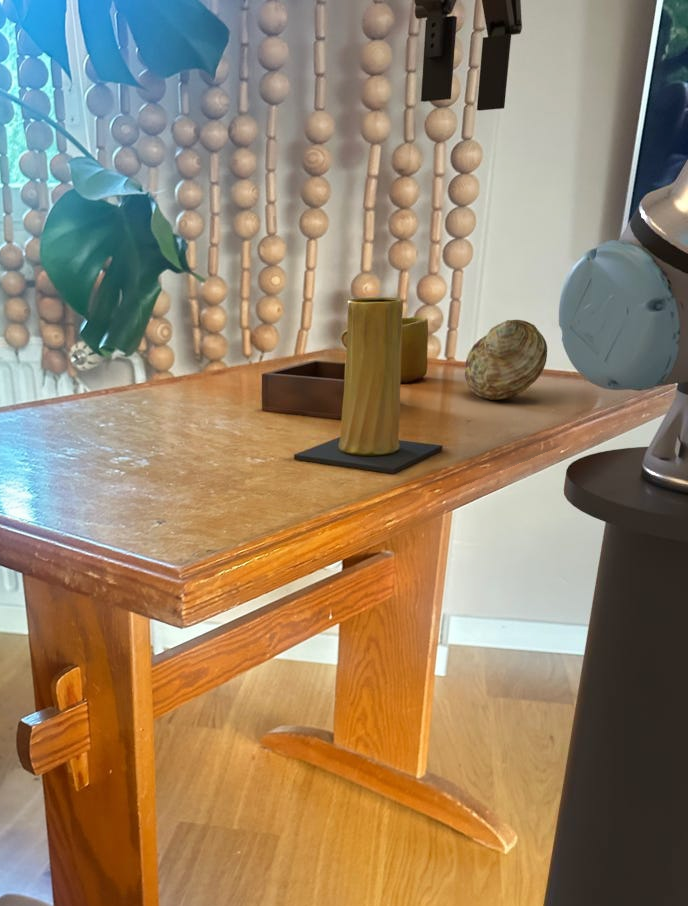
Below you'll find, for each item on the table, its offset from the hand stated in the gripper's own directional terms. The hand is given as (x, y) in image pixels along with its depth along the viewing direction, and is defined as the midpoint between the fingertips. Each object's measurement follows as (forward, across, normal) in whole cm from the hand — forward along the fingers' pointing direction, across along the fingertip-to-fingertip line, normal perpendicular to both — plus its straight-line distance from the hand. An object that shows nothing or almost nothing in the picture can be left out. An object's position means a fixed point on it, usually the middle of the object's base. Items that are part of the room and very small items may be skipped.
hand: (464, 105), depth 92 cm
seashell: (+32, -19, 0) cm, 37 cm away
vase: (+31, +17, 0) cm, 36 cm away
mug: (+32, -25, -20) cm, 45 cm away
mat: (+32, +17, 0) cm, 36 cm away
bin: (+32, -3, -16) cm, 36 cm away
